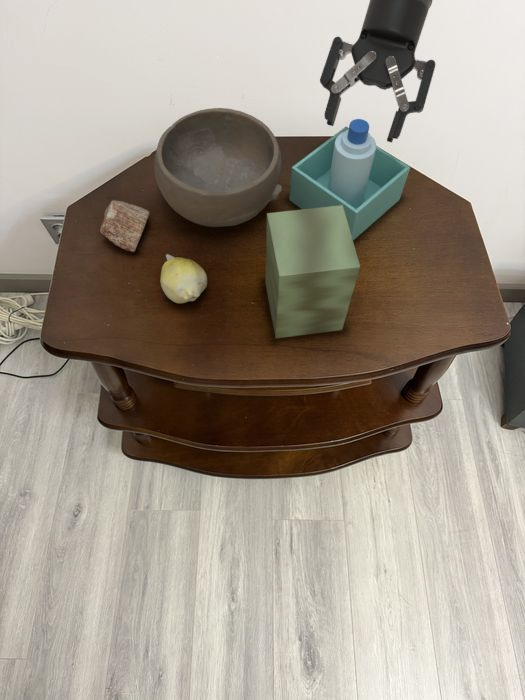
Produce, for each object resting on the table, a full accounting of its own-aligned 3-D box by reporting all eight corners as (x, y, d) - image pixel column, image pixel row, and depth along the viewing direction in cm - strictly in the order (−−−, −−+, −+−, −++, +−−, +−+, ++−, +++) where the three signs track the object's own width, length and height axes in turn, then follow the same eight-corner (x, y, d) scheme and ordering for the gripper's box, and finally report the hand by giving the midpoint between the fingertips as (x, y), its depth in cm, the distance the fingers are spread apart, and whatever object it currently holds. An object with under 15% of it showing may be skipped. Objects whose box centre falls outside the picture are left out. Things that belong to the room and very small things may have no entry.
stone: (121, 261, 78) (139, 252, 74) (87, 238, 74) (104, 228, 71) (138, 222, 81) (156, 212, 77) (105, 199, 77) (123, 187, 74)
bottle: (369, 192, 81) (388, 120, 69) (352, 216, 79) (369, 146, 67) (337, 178, 82) (350, 105, 71) (319, 201, 80) (330, 130, 68)
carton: (399, 199, 81) (410, 167, 75) (349, 244, 77) (356, 213, 71) (340, 160, 85) (346, 126, 79) (289, 200, 81) (291, 167, 75)
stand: (328, 275, 74) (342, 204, 62) (342, 330, 70) (360, 266, 58) (265, 282, 74) (266, 213, 61) (275, 338, 69) (279, 276, 57)
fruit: (187, 251, 76) (222, 293, 71) (154, 277, 76) (188, 321, 71) (168, 227, 71) (205, 271, 66) (133, 255, 71) (168, 301, 66)
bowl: (302, 200, 81) (307, 148, 72) (214, 265, 75) (209, 217, 66) (226, 142, 86) (222, 87, 77) (139, 199, 81) (125, 146, 72)
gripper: (344, -23, 65) (305, 115, 70) (458, 2, 63) (410, 144, 68) (349, -1, 72) (314, 123, 77) (453, 23, 70) (409, 149, 75)
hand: (359, 133), depth 73 cm, fingers open, 8 cm apart
